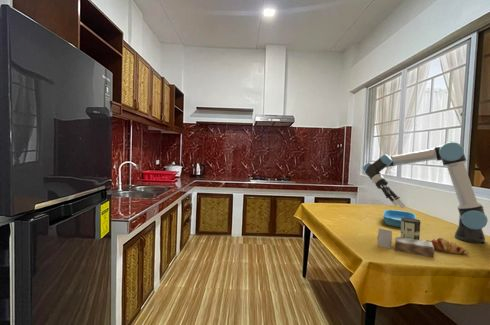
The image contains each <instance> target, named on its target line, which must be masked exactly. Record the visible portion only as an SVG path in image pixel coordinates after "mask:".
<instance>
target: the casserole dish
mask: <svg viewBox="0 0 490 325" xmlns="http://www.w3.org/2000/svg"><path fill="white" fill-rule="evenodd" d="M382 217H383V220H384V223H385V224H386V225H388V226H390V227H391V226H392V227H396V228H401V218H413V219H417V216H416V214H415V213H413V212H410V211H405V210H397V209H386V210H384V211H383V213H382Z"/></svg>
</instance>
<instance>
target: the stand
mask: <svg viewBox="0 0 490 325" xmlns="http://www.w3.org/2000/svg"><path fill="white" fill-rule="evenodd" d="M394 240H395V243H394V244H395V245H394V250H395V251H397V252H403V253H408V254H414V255H419V256H425V257H430V258H434V257H435V249H434V247H433V244H432V242H429V241H430V240H429V241H427V240H421V239H419V240H416V239H410V238H404V237H401V236H396V237H395V239H394Z"/></svg>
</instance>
